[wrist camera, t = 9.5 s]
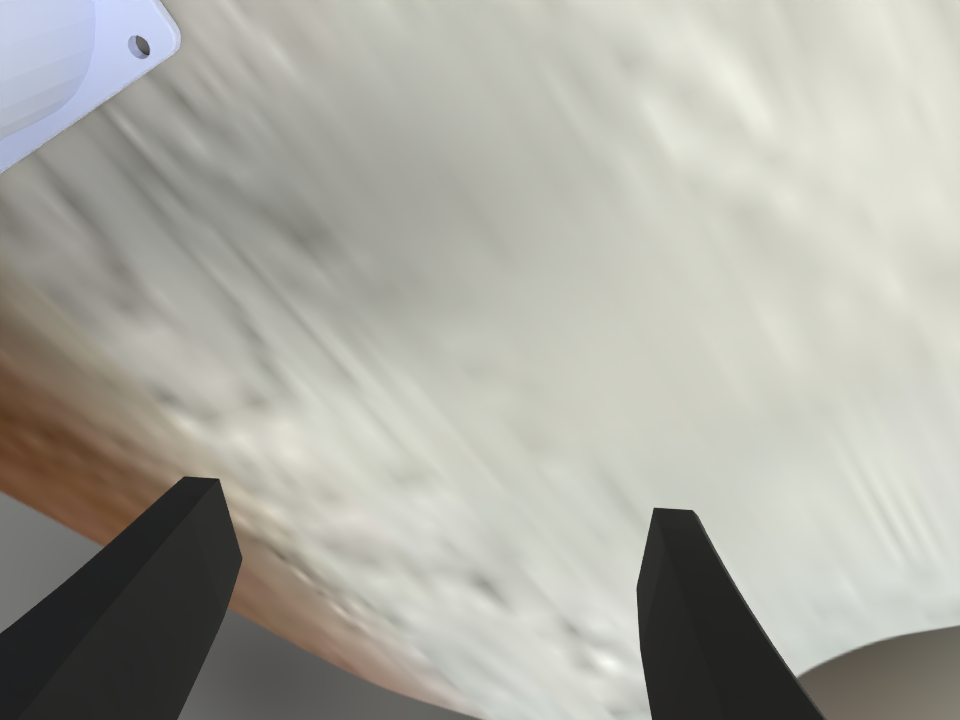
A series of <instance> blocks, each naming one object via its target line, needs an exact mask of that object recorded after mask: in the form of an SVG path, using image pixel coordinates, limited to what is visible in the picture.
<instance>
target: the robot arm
mask: <svg viewBox="0 0 960 720" xmlns="http://www.w3.org/2000/svg"><path fill="white" fill-rule="evenodd" d="M137 36H141V37H142V38H144V39H145V40H146V41H147V43H148V45H149V47H150V54H149V55H146V54H143V53H142V52H141V51H140V50H139V49H138V47H137V44H136V37H137ZM180 44H181V35H180V30H179V29H178V27H177V25H176V23H175V21H174V20H173V19H172V17H171V16H170V14H169V13H168V11H167V10H166V9H165V7H164V6H163V4H162V3H161V2H160V0H0V174H1V173H3V172H4V171H6V170H7V169H9V168H10V167H12V166H13V165H14V164H16V163H17V162H19V161H20V160H22V159H23V158H25V157H26V156H27V155H29V154H30V153H32V152H33V151H35V150H36V149H38V148H39V147H40V146H42V145H43V144H45V143H46V142H48V141H49V140H51V139H52V138H53V137H55V136H56V135H58V134H59V133H61V132H62V131H64V130H65V129H66V128H68V127H69V126H71V125H72V124H74V123H75V122H77V121H78V120H79V119H81V118H82V117H84V116H85V115H87V114H88V113H90V112H91V111H92V110H94V109H95V108H97V107H98V106H100V105H101V104H103V103H104V102H105V101H107V100H108V99H110V98H111V97H113V96H114V95H116V94H117V93H119V92H120V91H121V90H123V89H124V88H126V87H127V86H129V85H130V84H132V83H133V82H134V81H136V80H137V79H139V78H140V77H142V76H143V75H145V74H146V73H147V72H149V71H150V70H152V69H153V68H155V67H156V66H158V65H159V64H160V63H162V62H163V61H165V60H166V59H168V58H169V57H171V56H172V55H173V54H175V53H176V52H177V50H178V49H179V48H180ZM241 562H242V555H241V552H240V549H239V545H238V542H237V538H236V535H235V531H234V528H233V525H232V521H231V518H230V514H229V511H228V507H227V504H226V501H225V497H224V494H223V490H222V487H221V483H220V480H219V479H214V478H199V477H183V478H182V479H181V480H180V481H178V482H177V483H176V484H175V485H174V486H173V487H172V488H170V489H169V490H168V491H167V492H166V493H165V494H164V495H163V496H161V497H160V498H159V499H158V500H157V501H156V502H155V503H154V504H152V505H151V506H150V507H149V508H148V509H147V510H146V511H145V512H144V513H143V514H141V515H140V516H139V517H138V518H137V519H136V520H135V521H134V522H133V523H131V524H130V525H129V526H128V527H127V528H126V529H125V530H124V531H123V532H121V533H120V534H119V535H118V536H117V537H116V538H115V539H114V540H112V541H111V542H110V543H109V544H108V545H107V546H106V547H104V548H103V549H102V550H101V551H100V552H99V553H98V554H96V555H95V556H94V557H93V558H92V559H91V560H90V561H88V562H87V563H86V564H85V565H84V566H83V567H82V568H80V569H79V570H78V571H77V572H76V573H75V574H74V575H72V576H71V577H70V578H69V579H68V580H66V581H65V582H64V583H63V584H62V585H60V586H59V587H58V588H57V589H56V590H54V591H53V592H52V593H51V594H49V595H48V596H47V597H46V598H44V599H43V600H42V601H41V602H39V603H38V604H37V605H36V606H34V607H33V608H32V609H31V610H30V611H28V612H27V613H26V614H25V615H23V616H22V617H21V618H20V619H19V620H17V621H16V622H15V623H14V624H12V625H11V626H10V627H9V628H7V629H6V630H4V631H3V632H2V633H0V720H177V719H178V717H179V714H180V712H181V710H182V708H183V706H184V704H185V702H186V700H187V697H188V695H189V693H190V691H191V689H192V687H193V684H194V682H195V680H196V678H197V676H198V674H199V672H200V669H201V667H202V665H203V663H204V661H205V658H206V656H207V654H208V652H209V650H210V647H211V645H212V643H213V641H214V639H215V636H216V634H217V632H218V630H219V627H220V625H221V623H222V621H223V618H224V616H225V612H226V610H227V607H228V604H229V601H230V598H231V595H232V592H233V589H234V585H235V582H236V579H237V575H238V572H239V569H240V566H241ZM637 606H638V624H639V638H640V651H641V657H642V663H643V669H644V675H645V681H646V687H647V693H648V699H649V705H650V710H651V716H652V720H826V718H825V717H824V716H823V714H822V713H821V712H820V710H819V709H818V707H817V706H816V705H815V703H814V702H813V701H812V699H811V698H810V697H809V695H808V694H807V693H806V691H805V690H804V688H803V687H802V686H801V684H800V683H799V681H798V680H797V678H796V677H795V676H794V674H793V673H792V671H791V670H790V669H789V667H788V666H787V664H786V663H785V661H784V660H783V658H782V657H781V655H780V654H779V653H778V651H777V650H776V648H775V647H774V645H773V644H772V642H771V641H770V639H769V637H768V636H767V634H766V633H765V631H764V630H763V628H762V627H761V625H760V623H759V622H758V620H757V619H756V617H755V616H754V614H753V612H752V611H751V609H750V608H749V606H748V605H747V603H746V601H745V600H744V598H743V596H742V595H741V593H740V591H739V590H738V588H737V586H736V585H735V583H734V581H733V580H732V578H731V576H730V574H729V573H728V571H727V569H726V568H725V566H724V564H723V562H722V560H721V559H720V557H719V555H718V553H717V552H716V550H715V548H714V546H713V544H712V542H711V540H710V539H709V537H708V535H707V533H706V531H705V529H704V527H703V525H702V523H701V521H700V519H699V517H698V516H697V514H696V513H695V512H694V511H693V510H681V509H666V508H654V509H653V514H652V519H651V523H650V528H649V533H648V537H647V542H646V546H645V551H644V556H643V560H642V565H641V570H640V574H639V579H638V583H637Z"/></svg>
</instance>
